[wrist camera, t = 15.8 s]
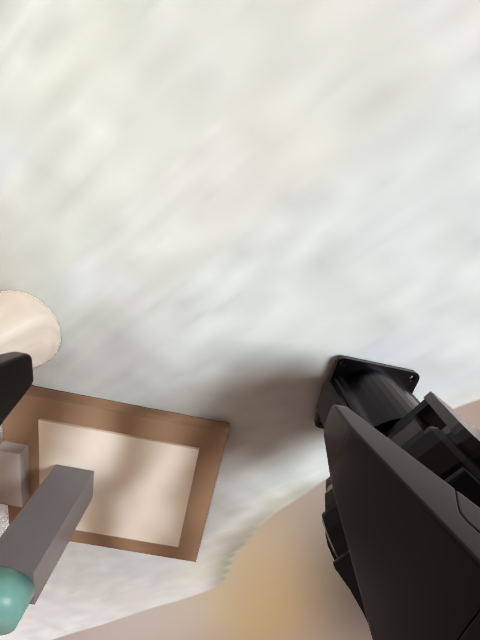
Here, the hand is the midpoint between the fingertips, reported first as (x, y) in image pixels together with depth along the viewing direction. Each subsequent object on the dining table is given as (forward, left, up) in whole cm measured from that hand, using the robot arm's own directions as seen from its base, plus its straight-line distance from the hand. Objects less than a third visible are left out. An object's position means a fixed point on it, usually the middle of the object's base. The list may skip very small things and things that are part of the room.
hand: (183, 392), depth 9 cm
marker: (+9, +19, -12) cm, 24 cm away
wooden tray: (+6, +19, -13) cm, 24 cm away
